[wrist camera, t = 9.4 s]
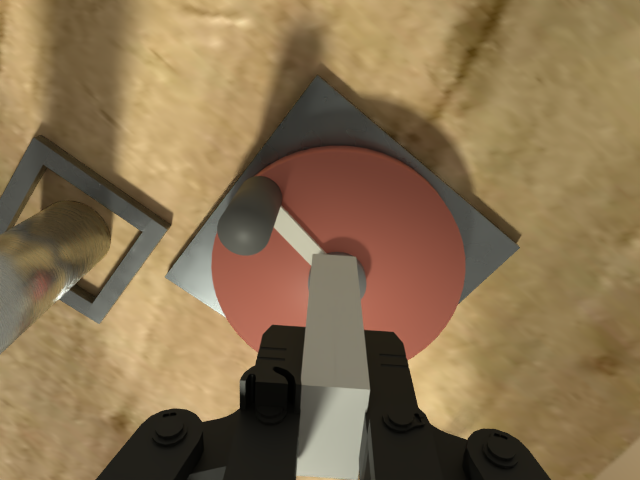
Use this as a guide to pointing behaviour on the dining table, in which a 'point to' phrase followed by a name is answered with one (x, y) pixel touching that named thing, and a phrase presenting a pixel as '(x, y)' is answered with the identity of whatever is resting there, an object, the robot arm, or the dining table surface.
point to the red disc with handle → (339, 244)
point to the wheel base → (341, 130)
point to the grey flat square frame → (47, 154)
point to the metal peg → (46, 262)
